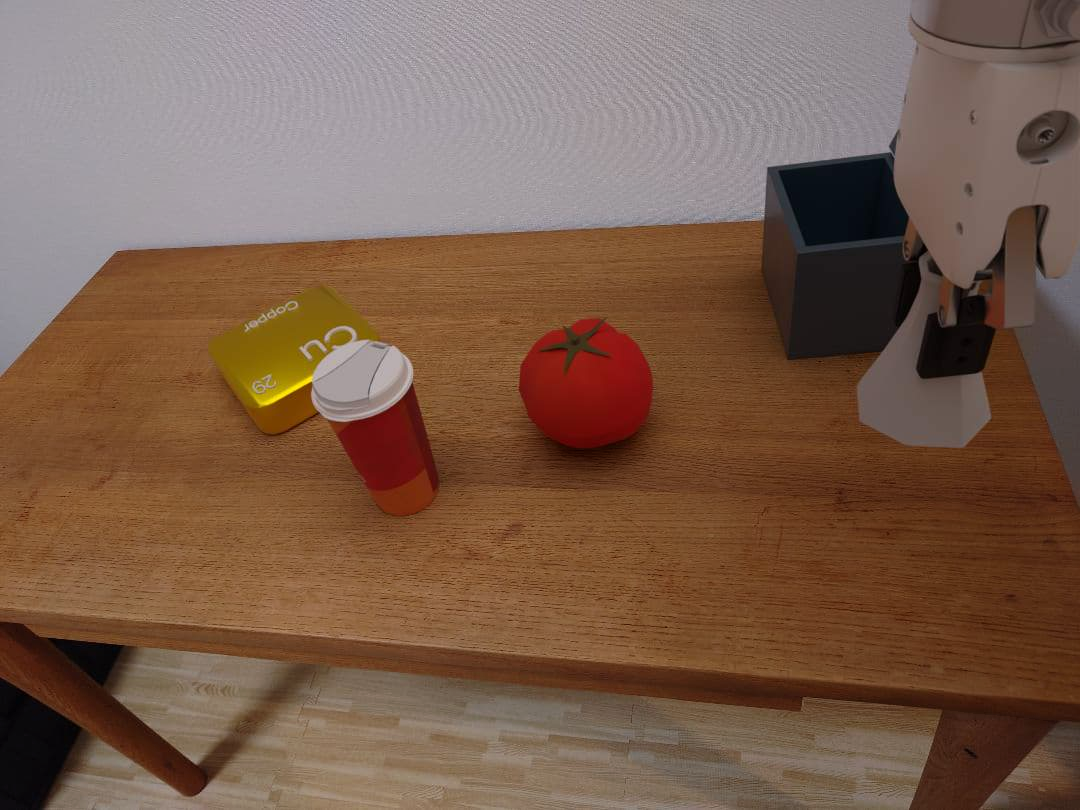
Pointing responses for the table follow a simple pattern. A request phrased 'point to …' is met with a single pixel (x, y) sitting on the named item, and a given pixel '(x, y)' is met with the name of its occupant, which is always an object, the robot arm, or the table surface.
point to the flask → (921, 382)
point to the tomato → (586, 384)
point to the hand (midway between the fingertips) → (935, 343)
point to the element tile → (286, 354)
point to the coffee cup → (378, 423)
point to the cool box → (833, 254)
